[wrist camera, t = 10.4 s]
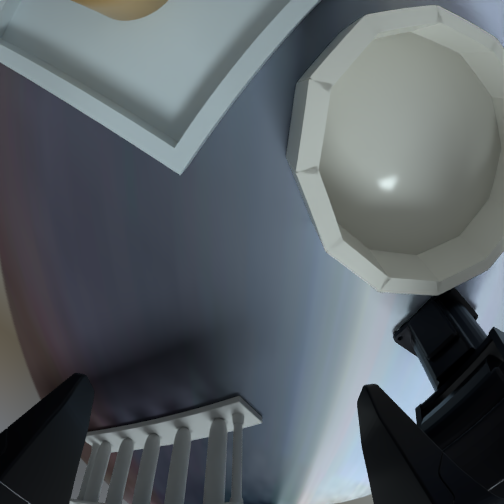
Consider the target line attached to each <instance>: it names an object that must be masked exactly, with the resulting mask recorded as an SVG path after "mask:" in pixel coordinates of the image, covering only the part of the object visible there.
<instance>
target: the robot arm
mask: <svg viewBox="0 0 504 504" xmlns="http://www.w3.org/2000/svg"><path fill="white" fill-rule="evenodd" d="M477 318H478V315H477V313H476V312H475V311H474V310H473V309H472V307H471V306H470V305H469V304H468V303H467V302H466V300H465V299H464V298H463V297H462V296H461V295H460V293H459V292H458V291H457V290H456V289H455V288H452V289H450V290H448V291H446V292H444V293H442V294H440V295H437V296H435V295H434V296H433V297H432V298H431V299H430V300H429V301H428V302H427V303H426V304H425V305H424V306H423V307H422V308H421V309H420V310H419V311H418V312H417V313H416V314H415V315H414V316H413V317H412V318H411V319H410V320H409V321H407V322H406V323H405V324H404V325H403V326H402V327H401V328H400V329H399V330H398V331H397V332H396V333H395V334H394V335H393V338H394V340H395V342H396V343H398V344H399V345H401V346H402V347H404V348H405V349H407V350H408V351H410V352H411V353H413V354H414V355H416V356H417V357H418V358H419V360H420V362H421V364H422V366H423V368H424V370H425V372H426V374H427V376H428V378H429V380H430V382H431V384H432V386H433V388H434V390H435V392H434V393H433V394H432V395H431V396H430V397H429V398H428V399H427V400H426V401H425V402H424V403H422V404H420V405H419V406H418V407H416V408H415V411H416V420H417V425H416V424H415V423H414V422H413V421H412V420H411V419H410V417H409V416H408V415H407V414H406V413H405V412H404V411H403V410H402V409H401V408H400V407H399V406H398V405H397V404H396V403H395V402H394V401H393V400H392V399H391V398H390V397H389V396H388V395H387V394H386V393H385V392H384V391H383V390H382V389H381V388H380V387H379V386H378V385H377V384H368V385H364V386H363V388H362V391H361V393H360V396H359V398H358V401H357V408H358V417H359V426H360V436H361V444H362V450H363V455H364V459H365V464H366V468H367V473H368V478H369V482H370V487H371V492H372V497H373V502H374V504H504V332H502V331H500V330H498V329H497V328H495V327H493V328H492V329H491V330H490V332H489V335H488V336H487V335H486V334H485V332H484V331H483V330H482V328H481V327H480V326H479V324H478V323H477V322H476V320H477ZM399 336H400V337H399ZM93 399H94V389H93V387H92V385H91V383H90V381H89V379H88V377H87V376H86V375H85V374H80V373H75V374H73V375H72V376H70V377H69V378H68V379H67V380H65V381H64V382H63V383H62V384H60V385H59V386H58V387H57V388H55V389H54V390H53V391H52V392H50V393H49V394H48V395H47V396H46V397H44V398H43V399H42V400H41V401H39V402H38V403H37V404H36V405H34V406H33V407H32V408H31V409H30V410H28V411H27V412H26V413H25V414H24V415H22V416H21V417H20V418H19V419H18V420H16V421H15V422H14V423H13V424H11V425H10V426H9V427H8V429H5V430H4V431H3V432H1V433H0V504H69V503H70V498H71V494H72V489H73V485H74V481H75V477H76V473H77V469H78V465H79V461H80V457H81V454H82V450H83V446H84V443H85V439H86V436H87V432H88V427H89V421H90V415H91V410H92V404H93Z"/></svg>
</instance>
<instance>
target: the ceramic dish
mask: <svg viewBox="0 0 504 504" xmlns="http://www.w3.org/2000/svg"><path fill="white" fill-rule="evenodd" d="M286 158H287V161H288V163H289V166H290V168H291V171H292V173H293V175H294V178H295V180H296V183H297V185H298V188H299V190H300V193H301V195H302V198H303V201H304V203H305V206H306V208H307V211H308V214H309V216H310V219H311V221H312V223H313V226H314V228H315V230H316V232H317V234H318V236H319V238H320V241H321V243H322V245H323V247H324V249H325V251H326V252H327V253H328V254H329V255H331V256H332V257H333V258H335V259H336V260H337V261H339V262H340V263H341V264H343V265H344V266H345V267H347V268H348V269H349V270H350V271H352V272H353V273H354V274H356V275H357V276H358V277H360V278H361V279H362V280H364V281H365V282H366V283H368V284H369V285H370V286H371V287H373V288H374V289H375V290H377V291H378V292H380V293H397V294H415V295H435V296H437V295H440V294H442V293H444V292H446V291H448V290H450V289H452V288H454V287H456V286H458V285H460V284H462V283H464V282H466V281H468V280H470V279H472V278H474V277H475V276H477V275H479V274H481V273H483V272H485V271H487V270H488V269H489V268H490V267H491V266H492V265H493V264H494V262H495V261H496V260H497V259H498V257H499V256H500V255H501V254H502V252H503V251H504V48H503V46H502V45H501V44H500V42H499V41H498V39H496V37H494V36H492V35H491V34H489V33H488V32H486V31H484V30H483V29H481V28H479V27H478V26H476V25H474V24H473V23H471V22H469V21H467V20H465V19H464V18H462V17H460V16H458V15H456V14H454V13H452V12H450V11H448V10H446V9H444V8H442V7H440V6H438V5H428V6H418V7H410V8H402V9H395V10H389V11H383V12H377V13H372V14H367V15H364V16H363V17H361V18H360V19H358V20H357V21H355V22H354V23H352V24H351V25H349V26H348V27H346V28H345V29H344V30H342V31H341V32H340V33H339V34H338V35H337V36H336V37H335V38H334V40H333V41H332V42H331V43H330V44H329V45H328V46H327V47H326V49H325V50H324V51H323V52H322V53H321V54H320V55H319V57H318V58H317V59H316V60H315V61H314V62H313V64H312V65H311V66H310V67H309V68H308V69H307V71H306V72H305V73H304V74H303V75H302V77H301V78H300V79H299V80H298V81H297V84H296V87H295V95H294V102H293V109H292V117H291V124H290V131H289V138H288V145H287V152H286Z"/></svg>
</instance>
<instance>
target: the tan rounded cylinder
mask: <svg viewBox="0 0 504 504" xmlns="http://www.w3.org/2000/svg"><path fill="white" fill-rule="evenodd" d="M71 1H73V2H76V3H78V4H81V5H83V6H85V7H87V8H90V9H92V10H94V11H96V12H99V13H101V14H103V15H105V16H107V17H109V18H112V19H115V20H120V21H130V20H136V19H140V18H142V17H145V16H147V15H149V14H152V13H153V12H155V11H157V10H158V9H159V8H161V7H162V6H163V5H164V4H165V3H166V2H167V1H168V0H71Z"/></svg>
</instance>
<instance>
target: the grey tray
mask: <svg viewBox="0 0 504 504" xmlns="http://www.w3.org/2000/svg"><path fill="white" fill-rule="evenodd" d="M320 1H321V0H168V1H167V2H166V3H165V4H164V5H163V6H162V7H161V8H159V9H158V10H157V11H155V12H153V13H152V14H149V15H147V16H145V17H142V18H140V19H136V20H130V21H120V20H115V19H112V18H109V17H107V16H105V15H103V14H101V13H99V12H96V11H94V10H92V9H90V8H87V7H85V6H83V5H81V4H78V3H76V2H73V1H71V0H0V62H1V63H2V64H4V65H6V66H7V67H9V68H11V69H13V70H14V71H16V72H18V73H19V74H21V75H23V76H24V77H26V78H28V79H29V80H31V81H33V82H34V83H36V84H37V85H39V86H41V87H42V88H44V89H46V90H47V91H49V92H51V93H52V94H54V95H55V96H57V97H59V98H60V99H62V100H64V101H65V102H67V103H68V104H70V105H72V106H73V107H75V108H76V109H78V110H80V111H81V112H83V113H84V114H86V115H88V116H89V117H91V118H92V119H94V120H96V121H97V122H99V123H100V124H102V125H104V126H105V127H107V128H108V129H110V130H111V131H113V132H115V133H116V134H118V135H119V136H121V137H122V138H124V139H125V140H127V141H129V142H130V143H132V144H133V145H135V146H136V147H138V148H139V149H141V150H143V151H144V152H146V153H147V154H149V155H150V156H152V157H153V158H155V159H156V160H158V161H159V162H161V163H163V164H164V165H166V166H167V167H169V168H170V169H172V170H173V171H175V172H176V173H178V174H179V175H181V174H182V173H183V171H184V170H185V169H186V168H187V167H188V166H189V164H190V163H191V161H192V160H193V159H194V157H195V156H196V154H197V153H198V151H199V150H200V148H201V147H202V145H203V144H204V143H205V141H206V140H207V138H208V137H209V136H210V134H211V133H212V131H213V130H214V129H215V127H216V126H217V125H218V123H219V122H220V120H221V119H222V118H223V116H224V115H225V114H226V112H227V111H228V110H229V108H230V107H231V106H232V104H233V103H234V102H235V100H236V99H237V98H238V97H239V95H240V94H241V93H242V91H243V90H244V89H245V88H246V86H247V85H248V84H249V82H250V81H251V80H252V79H253V77H254V76H255V75H256V74H257V73H258V71H259V70H260V69H261V68H262V66H263V65H264V64H265V63H266V62H267V60H268V59H269V58H270V57H271V56H272V54H273V53H274V52H275V51H276V50H277V49H278V47H279V46H280V45H281V44H282V43H283V42H284V40H285V39H286V38H287V37H288V36H289V35H290V34H291V33H292V31H293V30H294V29H295V28H296V27H297V26H298V25H299V24H300V23H301V21H302V20H303V19H304V18H305V17H306V16H307V15H308V14H309V13H310V12H311V11H312V10H313V9H314V8H315V6H316V5H317V4H318V3H319V2H320Z"/></svg>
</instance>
